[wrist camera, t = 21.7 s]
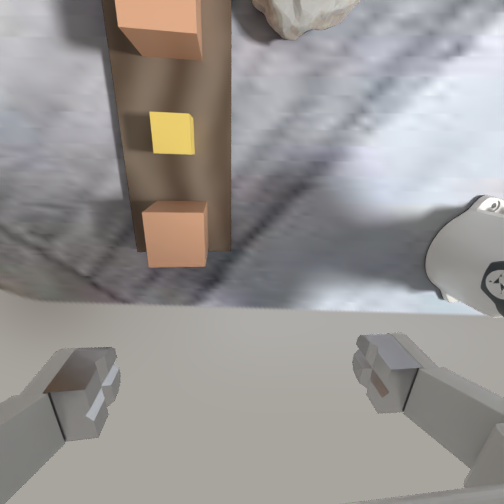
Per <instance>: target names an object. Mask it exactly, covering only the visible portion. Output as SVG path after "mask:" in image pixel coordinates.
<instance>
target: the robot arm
mask: <svg viewBox="0 0 504 504" xmlns="http://www.w3.org/2000/svg"><path fill="white" fill-rule="evenodd" d="M426 272H427V275H428V278H429V279H430V281H431V282H432V283H433V284H434V285H436V286H437V287H438V288H439V289H440V290H441V294H442V296H443V298H444V299H445V300H446V301H448V302H450V303H454V302H459V301H460V302H462V303H464V304H466V305H468V306H470V307H472V308H473V309H475V310H477V311H479V312H481V313H483V314H485V315H487V316H489V317H492V318H497V317H504V200H503V199H499V198H495V197H492V196H488V195H485V196H482V197H481V198H479V199H478V200H477V201H476V202H475V203H474V204H473V205H472V206H471V207H470V208H469V209H468V210H467V211H466V212H464V213H463V214H461V215H459V216H458V217H456V218H454V219H453V220H452V221H450V222H449V223H448V224H447V225H445V226H444V227H443V228H442V229H441V230H440V232H439V233H438V234H437V235H436V237H435V238H434V240H433V241H432V243H431V245H430V247H429V250H428V253H427V256H426ZM356 345H357V346H358V348H359V350H358V351H357V352H356V353H355V354H354V357H353V362H352V363H353V370H354V373H355V375H356V378H357V380H358V381H359V383H360V384H362V385H363V386H365V387H366V388H367V394H366V395H367V396H368V398H369V400H370V401H371V403H372V405H373V406H374V408H375V410H376V411H377V413H397V412H404V413H403V414H404V415H406V416H407V417H408V418H409V419H410V420H412V421H413V422H414V423H415V424H417V425H418V426H419V427H420V428H421V429H423V430H424V431H425V432H426V433H428V434H429V435H430V436H431V437H432V438H434V439H435V440H436V441H437V442H438V443H440V444H441V445H442V446H443V447H444V448H446V449H447V450H448V451H449V452H451V453H452V454H453V455H454V456H456V457H457V458H458V459H459V460H460V461H462V462H463V463H464V464H465V465H466V466H468V467H469V468H470V469H471V470H470V471H469V473H468V475H467V477H466V479H465V481H464V487H465V488H462V489H454V490H447V491H438V492H431V493H423V494H415V495H407V496H400V497H391V498H384V499H376V500H368V501H360V502H353V503H345V504H504V397H502V396H500V395H498V394H496V393H494V392H492V391H490V390H488V389H486V388H484V387H482V386H480V385H478V384H476V383H474V382H472V381H470V380H468V379H466V378H464V377H462V376H460V375H458V374H456V373H454V372H452V371H450V370H448V369H446V368H444V367H438V366H437V365H436V364H435V363H434V362H433V361H432V360H431V359H430V358H429V357H428V356H427V355H426V354H425V353H424V352H423V351H422V350H421V349H420V348H419V347H418V346H417V345H416V344H415V343H414V342H413V341H412V340H411V339H410V338H409V337H408V336H407V335H405V334H404V333H401V332H399V333H387V334H370V335H360V336H359V337H358V339H357V343H356ZM116 358H117V355H116V351H115V349H114V348H112V347H103V348H102V347H100V348H99V347H98V348H74V349H60V350H58V351H56V352H55V353H54V354H53V356H52V357H51V358H50V359H49V360H48V362H47V363H46V364H45V365H44V366H43V368H42V369H41V370H40V371H39V372H38V374H37V375H36V376H35V377H34V378H33V379H32V381H31V382H30V383H29V384H28V386H26V388H25V389H24V390H23V391H22V392H21V394H20V395H16V396H12V397H10V398H8V399H7V400H5V401H3V402H2V403H0V504H5V503H6V502H7V501H8V500H9V499H10V498H11V497H12V496H13V495H14V494H15V493H16V492H17V491H18V490H19V489H20V488H21V487H22V486H23V485H24V484H25V483H26V482H27V481H28V480H29V479H30V478H31V477H32V476H33V475H34V474H35V473H36V472H37V471H38V470H39V469H40V468H41V467H42V466H43V465H44V464H45V463H46V462H47V461H48V460H49V459H50V458H51V457H52V456H53V455H54V454H55V453H56V452H57V451H58V450H59V449H60V448H61V447H62V446H63V445H64V444H65V442H66V441H75V440H83V439H92V438H98V437H99V435H100V433H101V431H102V428H103V426H104V424H105V422H106V419H107V417H108V410H107V407H108V406H109V405H110V404H111V403H112V402H114V401H115V398H116V396H117V394H118V391H119V386H120V369H119V367H118V366H116V365H115V364H114V362H115V360H116Z"/></svg>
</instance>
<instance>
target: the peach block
mask: <svg viewBox="0 0 504 504" xmlns="http://www.w3.org/2000/svg"><path fill="white" fill-rule="evenodd" d="M115 6H116V14H117V22H118V27H119V28H120V30H121V31H122V32H123V33H124V34H125V36H126V37H127V38H128V39H129V40H130V42H131V43H132V44H133V45H134V47H135V48H136V49H137V50H138V51H139V53H140V54H141V55H142V56H145V57H159V58H172V59H185V60H198V61H202V30H201V0H115Z"/></svg>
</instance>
